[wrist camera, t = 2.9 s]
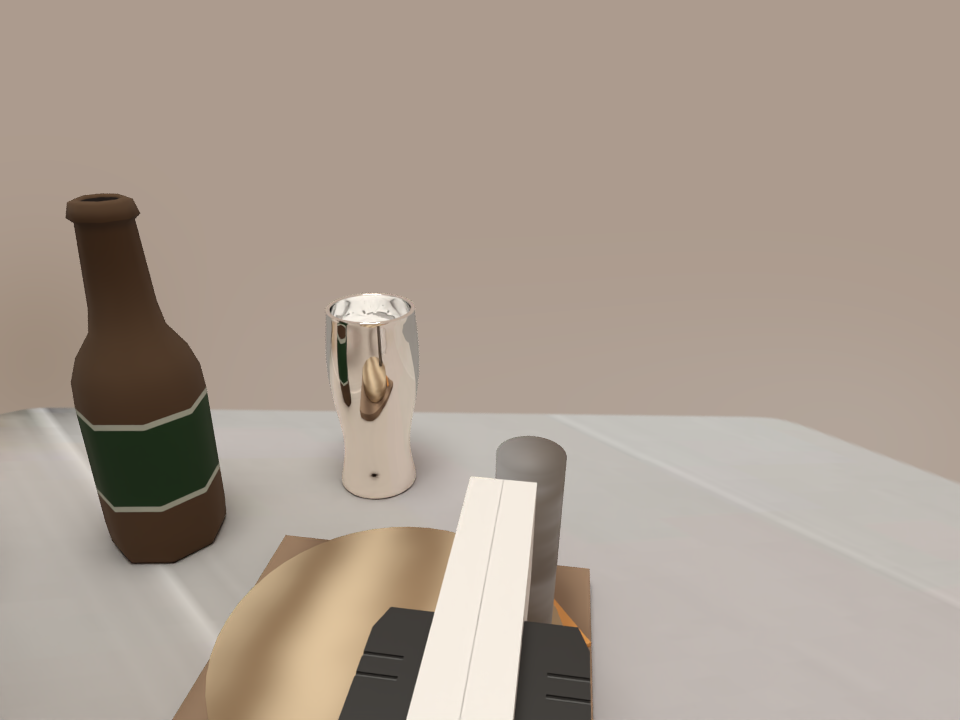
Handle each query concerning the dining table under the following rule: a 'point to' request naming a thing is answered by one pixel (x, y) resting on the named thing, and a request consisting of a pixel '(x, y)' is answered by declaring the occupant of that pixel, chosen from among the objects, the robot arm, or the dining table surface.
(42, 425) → the dining table surface
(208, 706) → the cam dial
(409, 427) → the beer glass
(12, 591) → the dining table surface
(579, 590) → the dial base
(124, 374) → the beer bottle
